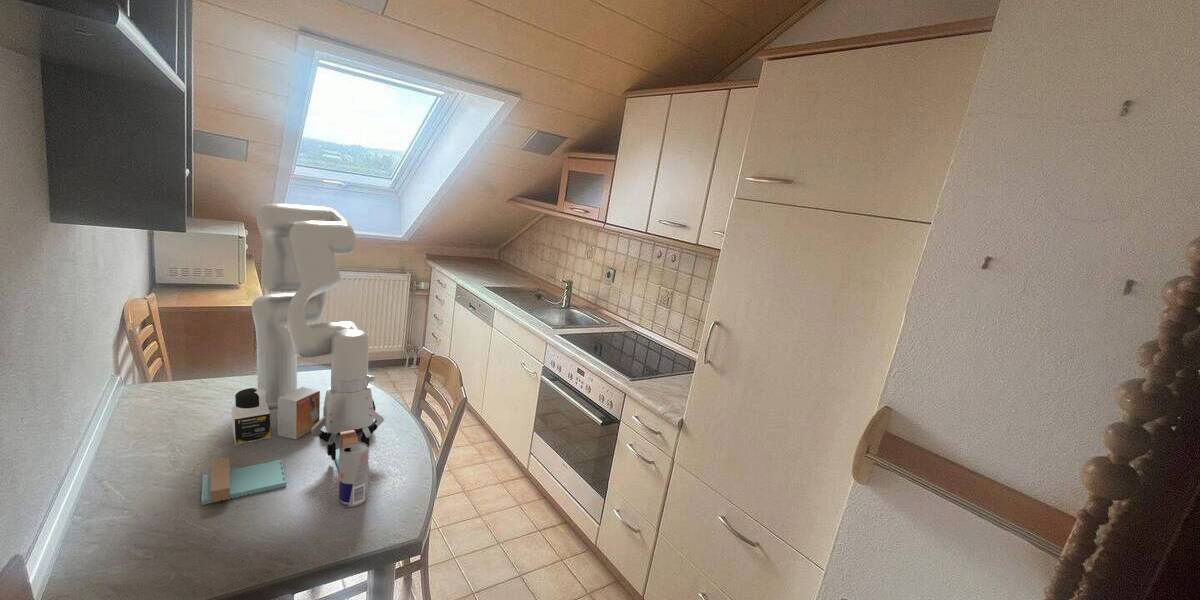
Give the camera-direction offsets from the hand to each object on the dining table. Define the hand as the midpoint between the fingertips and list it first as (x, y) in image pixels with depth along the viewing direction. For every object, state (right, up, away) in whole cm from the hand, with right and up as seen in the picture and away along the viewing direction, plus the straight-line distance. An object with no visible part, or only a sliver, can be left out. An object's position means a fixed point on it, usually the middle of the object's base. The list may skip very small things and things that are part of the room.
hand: (348, 453), depth 114 cm
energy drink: (+8, -6, -13) cm, 16 cm away
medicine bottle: (-28, +2, +6) cm, 28 cm away
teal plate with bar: (-16, -3, -12) cm, 20 cm away
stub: (0, -2, 0) cm, 2 cm away
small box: (-19, +2, +11) cm, 22 cm away
